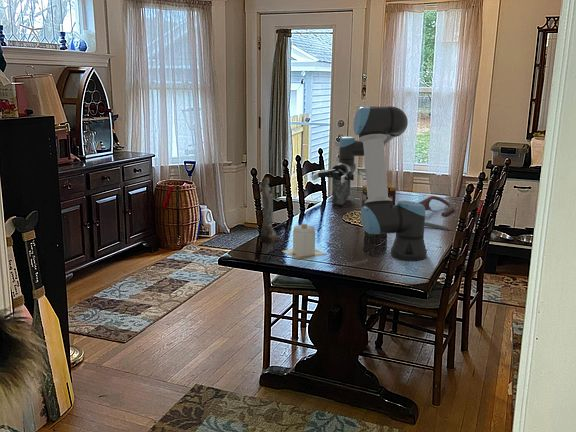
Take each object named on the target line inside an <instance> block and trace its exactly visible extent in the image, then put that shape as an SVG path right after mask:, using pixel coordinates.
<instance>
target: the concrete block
mask: <svg viewBox="0 0 576 432" xmlns="http://www.w3.org/2000/svg"><path fill="white" fill-rule="evenodd" d="M351 181H352V180H347V181H345V182H343V183H341V180H335V179H334V178H332V181H331V182H332V184H331V185H332V186H331V187H332V188H331V204H334V205H340V206H341V205H342V206H343V205H344V204H345V202H346V201H347V200H348V199H349V197H350V195H351Z"/></svg>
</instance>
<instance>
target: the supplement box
mask: <svg viewBox="0 0 576 432" xmlns="http://www.w3.org/2000/svg"><path fill="white" fill-rule="evenodd" d="M387 187H389V188H390V199H391V200H392V203H393V205H396V197H397V196H396V193H397V187H395V186H393V185H390V184H388V183H387ZM361 196H362V199H361V201H362V202H361V208H362V207H364V206H365V205H364V203H365V201H366V196H367V184H366V185H362V195H361Z"/></svg>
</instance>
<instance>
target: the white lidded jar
mask: <svg viewBox="0 0 576 432" xmlns="http://www.w3.org/2000/svg"><path fill="white" fill-rule="evenodd" d="M292 249H293V253H294V254H296V255H300V256H309V255H313V254H314V253H315V249H316V229H315V226H313V225H308V224H307V223H301V224H299V225H294V227H293V230H292Z"/></svg>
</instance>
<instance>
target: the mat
mask: <svg viewBox="0 0 576 432" xmlns="http://www.w3.org/2000/svg"><path fill="white" fill-rule="evenodd" d="M324 239H325V240H328V241H329V242H332V243H333V244H337V245H340V246H341V244H340V243H338V242H335V241H333V240H330V239H328V238H324Z"/></svg>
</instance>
